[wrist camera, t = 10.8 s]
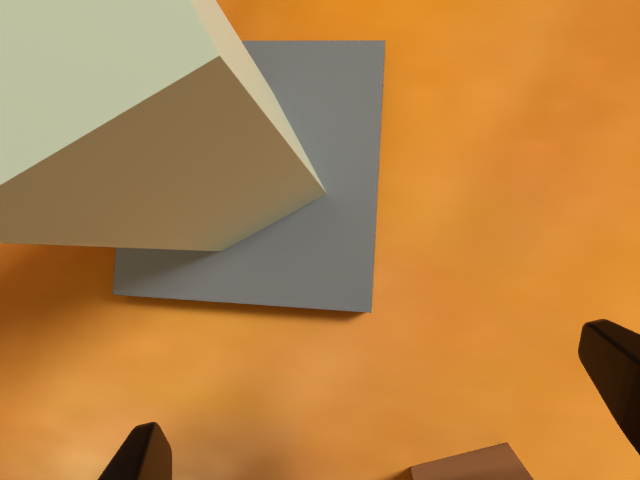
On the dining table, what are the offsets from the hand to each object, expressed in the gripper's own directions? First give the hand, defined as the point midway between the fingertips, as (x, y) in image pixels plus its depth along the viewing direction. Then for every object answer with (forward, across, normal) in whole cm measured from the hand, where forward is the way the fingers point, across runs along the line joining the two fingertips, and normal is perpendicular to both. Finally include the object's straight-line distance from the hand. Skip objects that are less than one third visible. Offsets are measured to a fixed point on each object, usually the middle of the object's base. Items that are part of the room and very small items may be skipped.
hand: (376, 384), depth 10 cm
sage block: (+12, +2, 0) cm, 12 cm away
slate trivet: (+13, +2, 0) cm, 13 cm away
